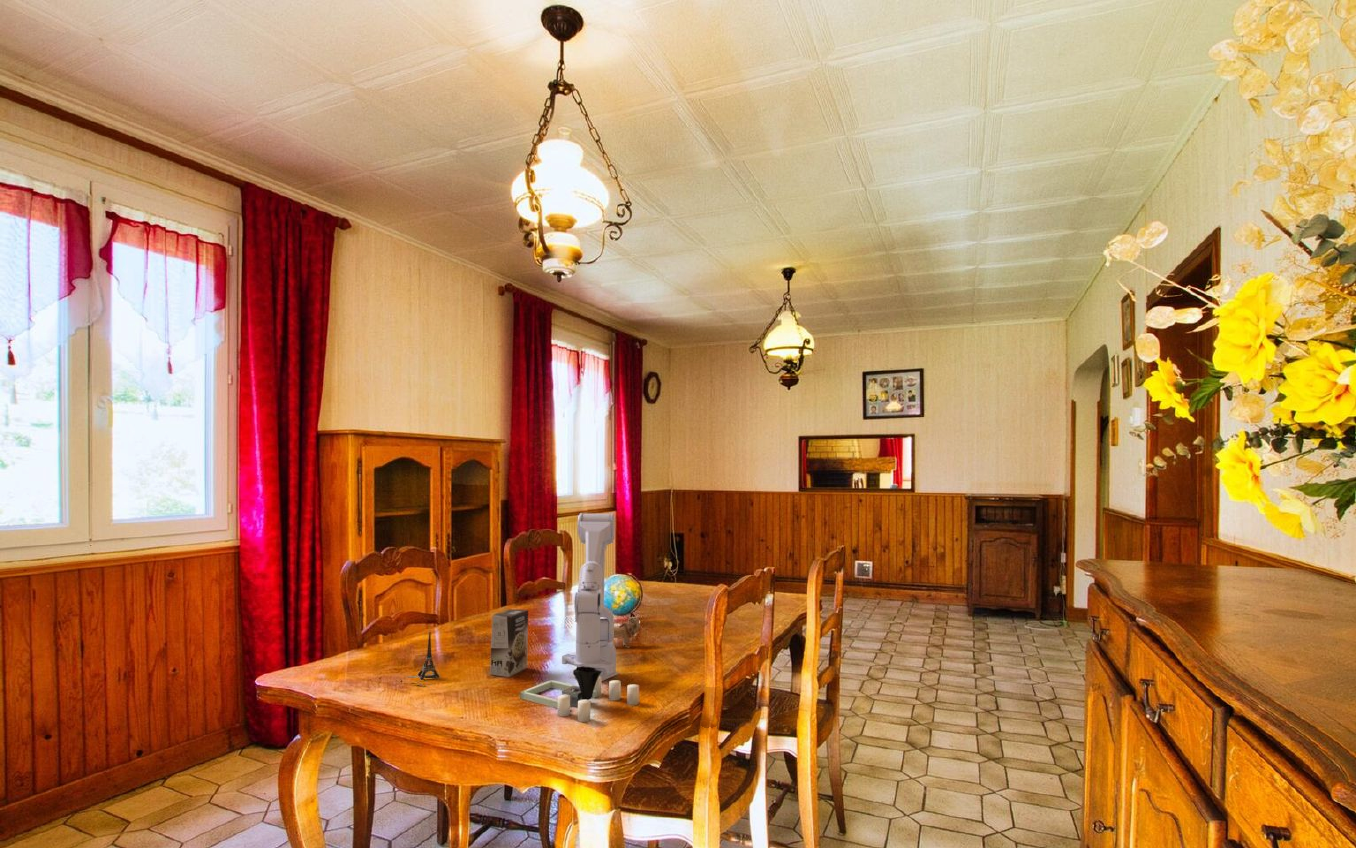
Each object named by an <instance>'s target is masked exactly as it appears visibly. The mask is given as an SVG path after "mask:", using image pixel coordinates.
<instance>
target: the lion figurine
mask: <svg viewBox="0 0 1356 848" xmlns="http://www.w3.org/2000/svg"><path fill="white" fill-rule="evenodd" d="M639 629H640V619H639V618H638V617H636V616H631V617H629V618H628V620H627V621H624V622H623V623H622V624H621V625H619V626H615V625H614V638H615V639H622V645H623V646H624V645H625V646H624V647H625V648H626V649H630V648H631V646H630V645H629V642H630V639H631V638H634V636H635V635H636V634H637V633H638V632H639ZM614 638H613V639H614Z"/></svg>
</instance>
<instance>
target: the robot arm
mask: <svg viewBox="0 0 1356 848" xmlns="http://www.w3.org/2000/svg"><path fill="white" fill-rule="evenodd" d="M576 526H577V527H576V529H577V534H578V538H579V540H580V543H581V544H585V563H584V564H582V565H581V566H580V569H579V575H578V576H579V578H578V585H577V587H578V588H577V592H575V594H574V598H573V599H574V601H573V603H574V604H573V609H574V615H575V619H574V621H575V623H576V625H575V627H576V628H575V629H576V630H575V654H571V653H570V654H569V653H566V654H563V655H561V657H562V658H561V664H562V665H571V666H574V667H576V668H575V669H573V671H572V674H573V678H574V679H576V681H577V684H578V686H579V687H580V691H581V695H582V699H583V700H584V699H586V700H591V699H593V698H592V695H593V691H594V687H595V684H596V681H597V679H598V677H599V676H600V677H601V682H603V681H606V680H608V679H610V678H613V677H615V676H617V675H619V672H617V671H616V670H617V669H616V668H617V649H616V646H615V644H614V642H613V641H614V626H615V620H614V617H615V616H614V614H613V611H612V610H610V609H609V608H608V607H607V606H605V576H606V575H605V567H606V564H605V563H606V551H607V549H608V548H607V547H608V545H611V544H613V543H614V540H615V534H616V533H615V531H616V515H615V514H614V513H613V512H611V513H583V512H580V513H579V515H577V525H576Z"/></svg>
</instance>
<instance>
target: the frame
mask: <svg viewBox="0 0 1356 848" xmlns="http://www.w3.org/2000/svg"><path fill="white" fill-rule="evenodd" d="M571 686H576V685H574V684H569V683H567V682H561V681H558V680H553V679H551V680H547V681H545V682H543V683H540V684H537V685H535V686H532V687H530V688H527V689H525V690H522V691H520V692H519V699H521V700H525V701H529V702H532V703H536V704H539V705H543V706H545V707H546V706H547V707H550V708H555V709H558V699H555V698H551V697H548V696H544V695H540V694H539V693H542V692H544V691H546V690H549V689H556V690H560V691H563V690H565V689H567V688H569V687H571ZM578 687H579V685H578ZM597 697H598V696H597V691H595V690H594V691H593V695H592V698H591V699H595V698H597Z"/></svg>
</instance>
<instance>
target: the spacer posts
mask: <svg viewBox="0 0 1356 848" xmlns="http://www.w3.org/2000/svg"><path fill="white" fill-rule="evenodd" d="M621 682H622V681H621V680H617V679H615V680H614V679H613V680H610V681H609V682H608V685H609V686H608V689H609V690H608V700H609V701H613V702H614V701H615V702H617V701H620V700H621V688H622V687H621V684H622V683H621ZM626 689H627V691H626V694H627V695H626V705H628V706H638V705H639V704H640V685H639V684H633V683H632V684H631V683H630V684H628V685H627V688H626ZM594 690H595V691H597V696H596V697H598V696H602V681H601V677H600V676H599V677H598V679H597V681H596V684H595V687H594ZM557 700H558V708H557V717H561V718H563V717H564V718H565V717H568V716H570V715H571V706H570V695H566V694H563V695H562V694H559V695H558V696H557ZM590 721H591V699H589V700H586V699H584V700H579V701H578V707H577V722H578V723H588V722H590Z"/></svg>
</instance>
